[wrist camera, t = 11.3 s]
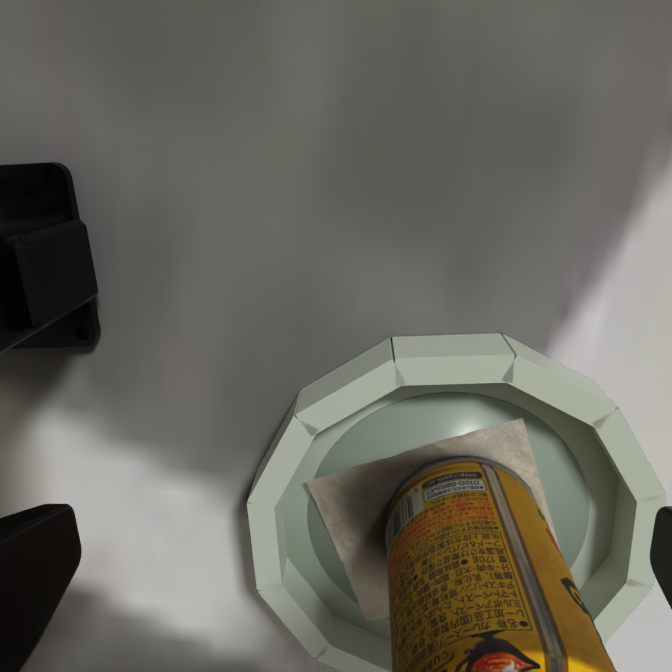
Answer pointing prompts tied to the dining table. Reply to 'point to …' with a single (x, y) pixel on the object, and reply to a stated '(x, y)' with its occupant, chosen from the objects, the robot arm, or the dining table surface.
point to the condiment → (461, 557)
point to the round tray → (427, 428)
